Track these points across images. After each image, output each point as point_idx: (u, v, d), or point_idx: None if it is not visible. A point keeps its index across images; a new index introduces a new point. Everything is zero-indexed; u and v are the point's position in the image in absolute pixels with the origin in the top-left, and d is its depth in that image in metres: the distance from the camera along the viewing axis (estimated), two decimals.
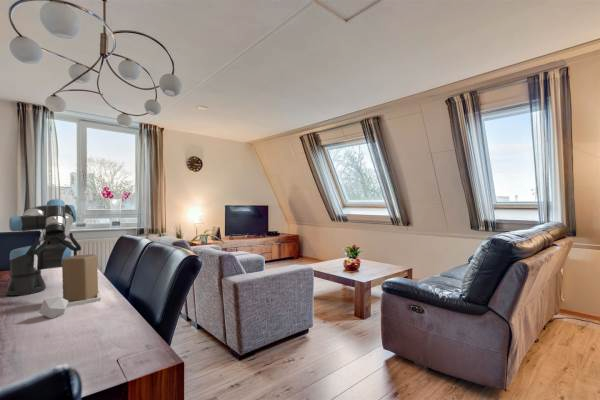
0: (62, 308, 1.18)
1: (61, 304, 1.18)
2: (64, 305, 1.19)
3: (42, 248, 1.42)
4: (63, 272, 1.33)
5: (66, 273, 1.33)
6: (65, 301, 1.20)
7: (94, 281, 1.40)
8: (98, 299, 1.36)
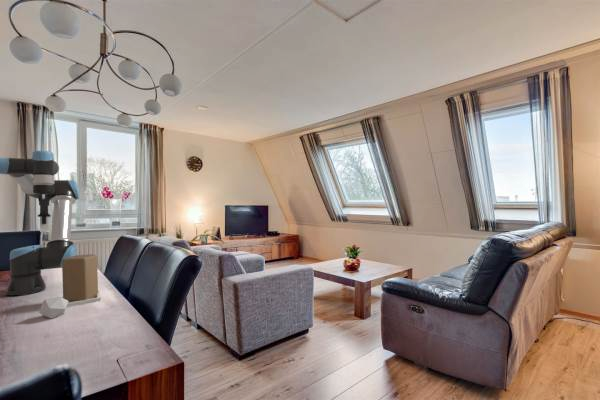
0: (62, 308, 1.18)
1: (61, 304, 1.18)
2: (64, 305, 1.19)
3: None
4: (63, 272, 1.33)
5: (66, 273, 1.33)
6: (65, 301, 1.20)
7: (94, 281, 1.40)
8: (98, 299, 1.36)
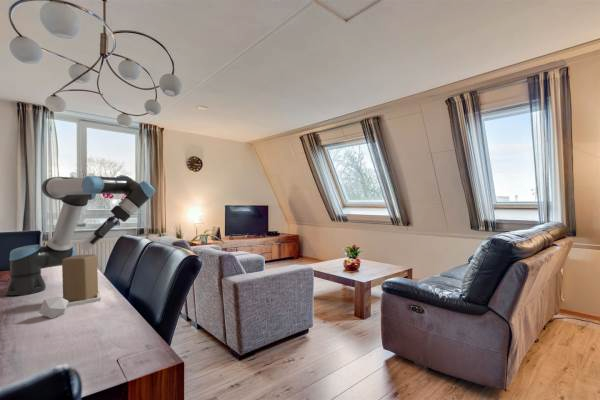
0: (62, 308, 1.18)
1: (61, 304, 1.18)
2: (64, 305, 1.19)
3: None
4: (63, 272, 1.33)
5: (66, 273, 1.33)
6: (65, 301, 1.20)
7: (94, 281, 1.40)
8: (98, 299, 1.36)
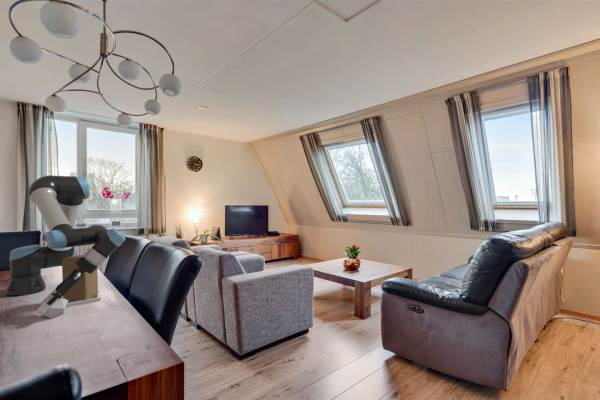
0: (61, 308, 1.18)
1: (60, 304, 1.18)
2: (63, 305, 1.19)
3: (65, 283, 1.24)
4: (63, 272, 1.33)
5: (66, 273, 1.33)
6: (64, 301, 1.20)
7: (94, 281, 1.40)
8: (98, 299, 1.36)
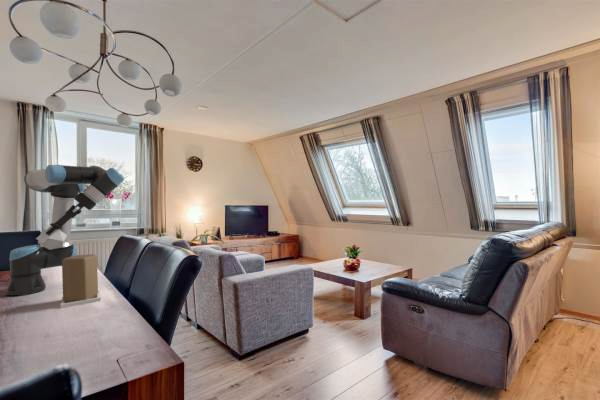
0: (60, 240, 1.19)
1: (59, 236, 1.19)
2: (62, 237, 1.20)
3: None
4: (63, 272, 1.33)
5: (66, 273, 1.33)
6: (63, 235, 1.21)
7: (94, 281, 1.40)
8: (98, 299, 1.36)
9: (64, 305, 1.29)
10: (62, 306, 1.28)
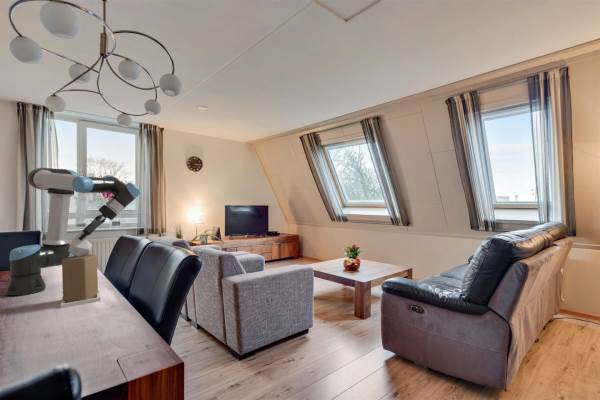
0: (87, 248, 1.37)
1: (86, 245, 1.37)
2: (89, 246, 1.38)
3: None
4: (63, 272, 1.33)
5: (66, 273, 1.33)
6: (89, 244, 1.40)
7: (94, 281, 1.40)
8: (98, 299, 1.36)
9: (64, 305, 1.29)
10: (62, 306, 1.28)
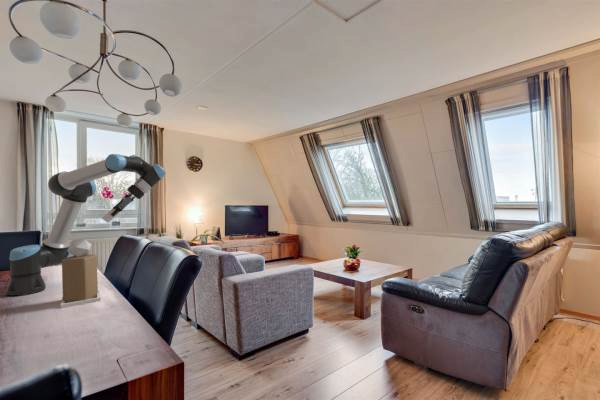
0: (86, 248, 1.37)
1: (85, 245, 1.37)
2: (88, 246, 1.38)
3: None
4: (63, 272, 1.33)
5: (65, 273, 1.33)
6: (88, 244, 1.40)
7: (94, 281, 1.40)
8: (98, 299, 1.36)
9: (64, 305, 1.29)
10: (62, 306, 1.28)
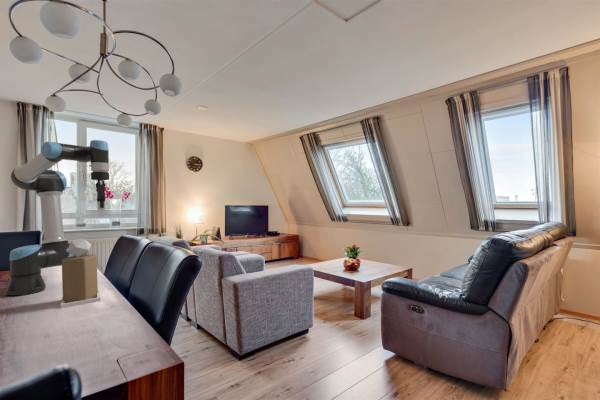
0: (86, 248, 1.37)
1: (85, 245, 1.37)
2: (88, 246, 1.38)
3: None
4: (63, 272, 1.33)
5: (65, 273, 1.33)
6: (88, 244, 1.40)
7: (94, 281, 1.40)
8: (98, 299, 1.36)
9: (64, 305, 1.29)
10: (62, 306, 1.28)
